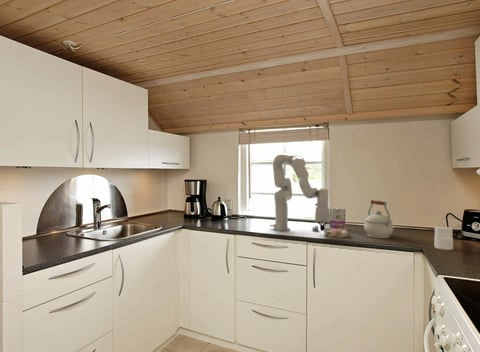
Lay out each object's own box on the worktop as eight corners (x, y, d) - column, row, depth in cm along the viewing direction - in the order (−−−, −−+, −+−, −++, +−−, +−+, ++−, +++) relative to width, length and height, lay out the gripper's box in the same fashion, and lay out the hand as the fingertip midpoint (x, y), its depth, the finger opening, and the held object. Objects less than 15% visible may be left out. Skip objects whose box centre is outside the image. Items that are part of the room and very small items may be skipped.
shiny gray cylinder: (312, 231, 214) (312, 226, 214) (312, 230, 218) (312, 225, 218) (318, 231, 213) (318, 226, 213) (318, 230, 217) (318, 225, 217)
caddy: (327, 236, 194) (327, 231, 194) (325, 232, 208) (325, 228, 208) (348, 237, 192) (348, 232, 192) (345, 233, 205) (345, 228, 205)
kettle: (401, 239, 188) (401, 202, 188) (376, 240, 185) (376, 202, 185) (377, 231, 213) (377, 198, 213) (355, 232, 210) (355, 199, 210)
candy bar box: (345, 229, 223) (345, 208, 223) (344, 230, 219) (344, 209, 219) (331, 227, 228) (331, 207, 228) (329, 228, 224) (330, 208, 224)
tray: (325, 235, 195) (325, 230, 195) (324, 231, 208) (324, 226, 208) (346, 236, 192) (346, 231, 192) (343, 232, 205) (343, 227, 205)
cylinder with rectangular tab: (445, 245, 170) (445, 226, 170) (457, 249, 161) (457, 229, 161) (430, 245, 170) (430, 226, 170) (441, 249, 161) (441, 229, 161)
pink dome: (332, 233, 197) (332, 230, 197) (330, 231, 204) (330, 229, 204) (342, 233, 196) (342, 231, 196) (341, 231, 203) (341, 229, 203)
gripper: (312, 205, 200) (311, 231, 200) (333, 206, 196) (333, 232, 197) (311, 204, 207) (311, 229, 207) (332, 205, 204) (332, 230, 204)
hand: (322, 230), depth 202 cm, fingers closed
